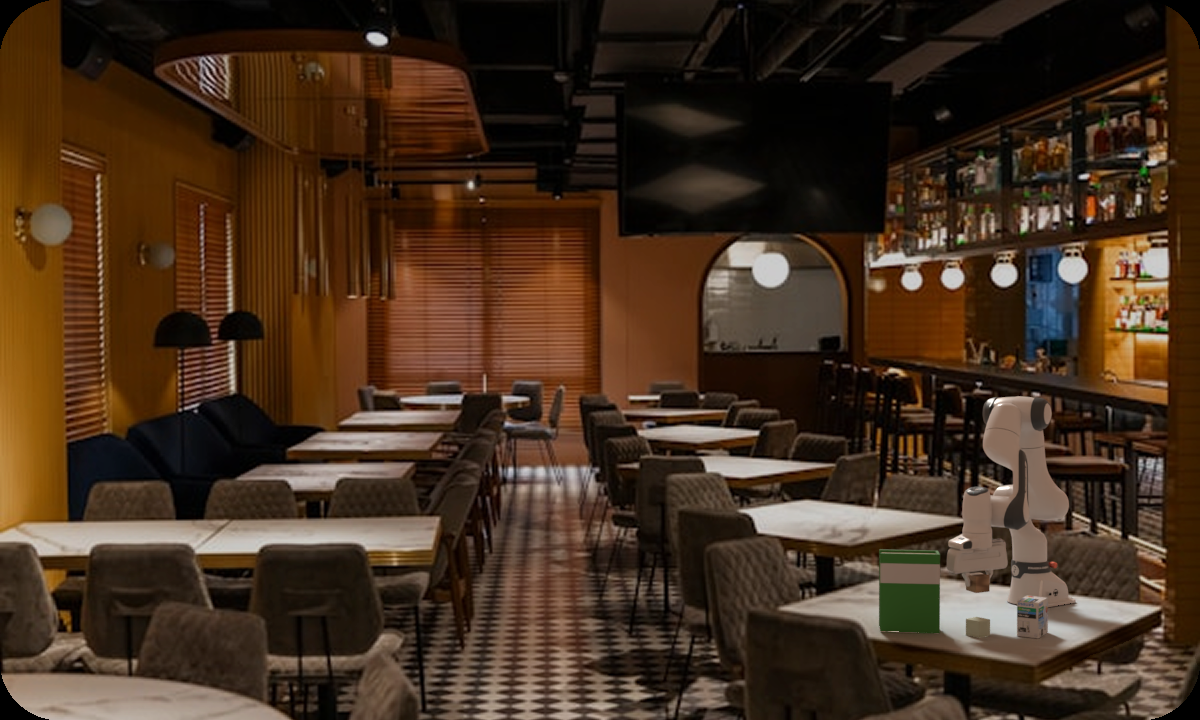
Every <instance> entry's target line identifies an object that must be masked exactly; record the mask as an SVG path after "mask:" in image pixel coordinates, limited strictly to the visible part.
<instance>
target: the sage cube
mask: <svg viewBox="0 0 1200 720" xmlns="http://www.w3.org/2000/svg"><path fill="white" fill-rule="evenodd" d="M965 636H969V637H972V636H973V638H977V637H978V638H977V639H981V637H982V638H986V637H985V636H987V637H991V619H989V618H985V617H980V616H973V617H968V618H965Z"/></svg>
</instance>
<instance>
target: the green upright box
mask: <svg viewBox="0 0 1200 720" xmlns="http://www.w3.org/2000/svg"><path fill="white" fill-rule="evenodd" d="M878 550H879V552H878V556H879V557H878V558H879V559H878V560H879V561H878V567H879V568H878V573H879V574H878V575H879V576H878V627H879V626H880V628H879V632H880V631H899V632H917V633H916V634H934V633H940V632H941V627H940V625H941V624H940V621H941V618H940V617H941V616H940V615H941V609H940V607H941V605H940V604H941V553H940V552H939V550H934V549H933V550H926V549H924V550H923V549H922V550H921V549H881V548H880V549H878ZM918 632H919V633H918Z"/></svg>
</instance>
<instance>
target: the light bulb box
mask: <svg viewBox="0 0 1200 720" xmlns="http://www.w3.org/2000/svg"><path fill="white" fill-rule="evenodd" d="M1016 612H1017V613H1016V636H1017V637H1023V638H1031V639H1040V638H1042V637H1043V636H1046V635H1047V634H1048V633H1049V631H1048V630H1049V628H1048V627H1049V622H1048V621H1049V619H1048V618H1049V616H1048V615H1049V607H1048V598H1045V597H1036V596H1028V595H1027V596H1025V597H1023V598H1022V599H1020V600H1018V601H1017V604H1016ZM1047 632H1048V633H1047Z"/></svg>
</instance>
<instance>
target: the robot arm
mask: <svg viewBox="0 0 1200 720" xmlns="http://www.w3.org/2000/svg"><path fill="white" fill-rule="evenodd" d="M1052 415H1053V414H1052V407H1051V404H1050V402H1049V401H1048V400H1047V399H1045V398H1043V397H1038V396H1036V397H1030V396H1022V395H1020V396H1019V395H1017V396H1005V397H1002V396H1001V397H998V396H995V397H991V398H989V399H987V400H986V401H985V402H984V404H983V407H982V419H983V423H984V424H985V428H984V434H983V438H982V449H983V451H984V453H985V455H986V456H987V457H988V458H989V459H990V460H991V461H992V462H994V463H996V464H998V465H1000V466H1003V467H1005V468H1007V469H1009V470H1010V471H1012V484H1005V485H999V486H998V487H997V488H996V489H995V490H994V492H993V493H992V494H991V492H990V490H989V489H988V488H987V487H983V486H971V487H968V488H967V489H965V491H964V493H963V498H962V499H963V500H962V506H961V507H962V514H961V515H962V521H963V527H962V530H961V531H962V533H961V534H959V535H957V536H955V537H953V538H951V539H949V540H948V542H947V544H948V547H949V549H948V550H947V554H946V569H947V571H948V572H949V573H951V574H956V575H958V574H961V576H962V577H963V578H962V579H964V584H965V585H964V586H965V587H966V586H967V587H970V586H972V585H973V584H972V583H973V581H971V580H970V579H969V577H968V576H969V575H970V573H977V572H983V571H985V574H987V575H989V585H991V578H992V576H993V574H994V570H1001V569H1006V568H1007V567H1008V565H1009V564H1008V563H1009V561H1008V553H1007V549H1006V548H1007V544H1006V541H1005V539H1002V538H998V537H997V538H993V529H992V527H993V528H1006V529H1009V532H1010V536H1011V544H1012V545H1011V546H1012V548H1011V549H1012V559H1011V561H1010V571H1011V582H1010V587H1009V592H1008V597H1007V600H1006V601H1007V602H1008V603H1009V604H1010V603H1011V604H1013V605H1017V601H1018V600H1020V599H1022V598H1023V597H1025V596H1027V595H1028V596H1036V597H1045V598H1048V608H1050V607H1051V608H1053V607H1057V606H1058V605H1059V606H1063V605H1064V604H1065V605H1069V604H1070V603H1071V604H1076V603H1075V602H1076V598H1073V597H1071V596H1069V590H1068V586H1067V584H1066V582H1065V581H1064V580H1063V579H1061V578H1060V577H1058V576H1057V575H1056V574H1055V573H1054V572H1053V571H1052V569H1056V568H1057V567H1058V563H1057V562H1055V561H1049V560H1048V540H1047V537H1046V535H1045V534H1044V532H1041V531H1040V530H1039V529H1038V528H1036V527H1035V525H1034V524H1033V521H1032V520H1039V521H1057V520H1061V519H1063V518H1064V517H1065V516H1066V515H1067V513H1068V511H1069V509H1070V501H1069V498H1068V496H1067V494H1066V493H1065V491H1064V490H1062V489H1060V488H1059V487H1058V485H1057V484H1056V483H1055V482H1054V481H1053V479H1052V476H1051V475H1050V473H1049V471H1048V466H1047V462H1046V459H1047V458H1046V450H1045V449H1046V447H1045V436H1044V435H1045V434H1044V430H1045V429H1046V428H1047V427H1049V425H1050V423H1051V420H1052Z"/></svg>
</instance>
